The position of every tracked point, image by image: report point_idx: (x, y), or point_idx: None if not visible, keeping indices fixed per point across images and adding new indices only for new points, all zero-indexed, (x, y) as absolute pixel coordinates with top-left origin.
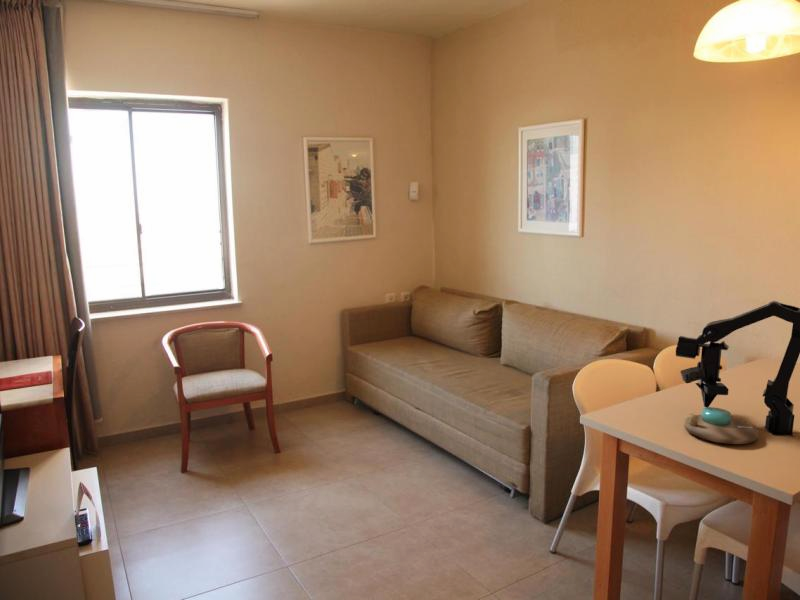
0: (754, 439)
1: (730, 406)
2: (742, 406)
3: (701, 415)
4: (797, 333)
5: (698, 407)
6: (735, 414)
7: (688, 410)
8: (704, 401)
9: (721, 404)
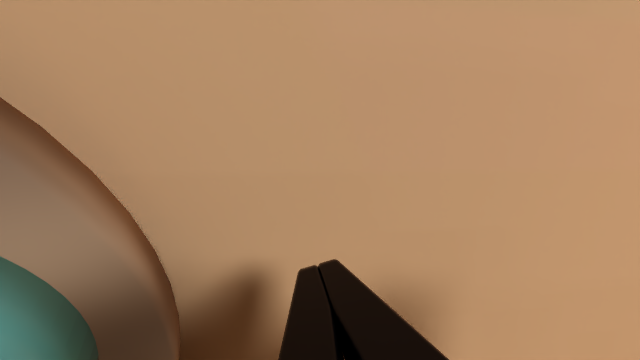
0: None
1: (595, 313)
2: (590, 355)
3: (16, 208)
4: None
5: (593, 129)
6: (451, 348)
7: (507, 22)
8: (292, 349)
9: (636, 271)
